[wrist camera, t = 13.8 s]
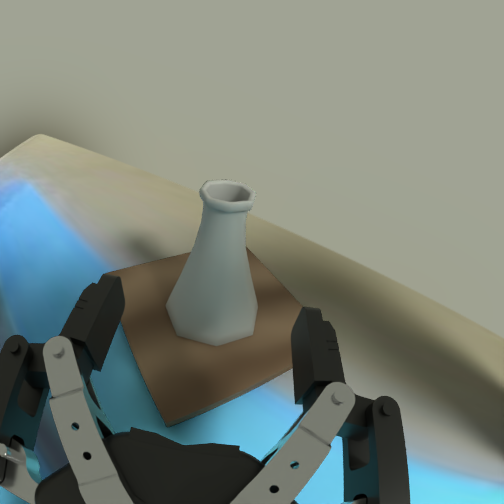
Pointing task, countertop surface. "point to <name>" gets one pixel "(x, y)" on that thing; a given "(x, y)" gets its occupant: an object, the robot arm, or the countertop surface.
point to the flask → (217, 271)
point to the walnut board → (197, 353)
